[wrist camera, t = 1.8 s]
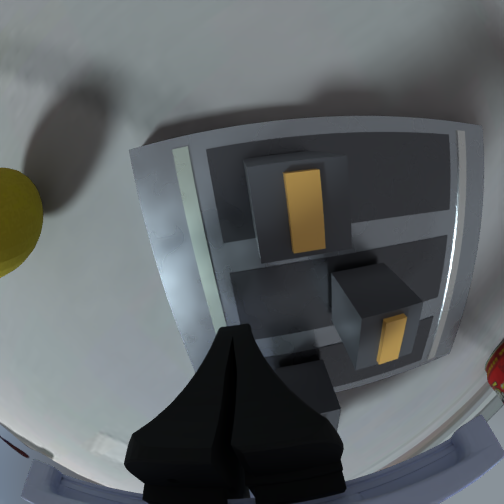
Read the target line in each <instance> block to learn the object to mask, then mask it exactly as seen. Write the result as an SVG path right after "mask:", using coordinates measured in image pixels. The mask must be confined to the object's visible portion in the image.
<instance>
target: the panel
mask: <svg viewBox="0 0 504 504" xmlns="http://www.w3.org/2000/svg"><path fill="white" fill-rule="evenodd" d="M304 151H318V152H325V153H332V154H339V155H345V156H347V161H348V172H349V186H350V203H351V229H352V249H347V250H341V251H336V252H330V253H324V254H318V255H312V256H306V257H300V258H294V259H288V260H282V261H276V262H270V263H263V264H261V260H260V255H259V250H258V246H257V241H256V236H255V231H254V227H253V220H252V214H251V208H250V201H249V195H248V188H247V182H246V176H245V169H244V163H243V159H248V158H255V157H262V156H269V155H277V154H285V153H294V152H304ZM129 153H130V158H131V164H132V168H133V173H134V178H135V183H136V187H137V192H138V196H139V200H140V204H141V209H142V213H143V217H144V221H145V224H146V228H147V232H148V236H149V239H150V243H151V246H152V250H153V253H154V257H155V260H156V264H157V267H158V270H159V273H160V277H161V280H162V283H163V286H164V289H165V292H166V295H167V298H168V301H169V304H170V307H171V310H172V313H173V316H174V318H175V321H176V324H177V327H178V329H179V332H180V335H181V337H182V340H183V343H184V345H185V348H186V350H187V353H188V356H189V358H190V361H191V363H192V365H193V368H194V370H195V373H196V371H197V370H198V368H199V367H200V365H201V364H202V362H203V360H204V358H205V357H206V355H207V353H208V351H209V349H210V347H211V345H212V343H213V341H214V339H215V336H216V334H217V332H218V329H219V328H220V327H226V326H233V325H240V324H247V323H248V324H250V325H251V329H252V334H253V337H254V339H255V341H256V343H257V345H258V347H259V349H260V351H261V352H262V354H263V356H264V358H265V359H266V361H267V362H268V364H269V365H270V366H271V368H272V369H273V370H274V372H275V368H280V367H286V366H292V365H297V364H302V363H307V362H312V361H317V360H322V359H323V361H324V364H325V366H326V369H327V372H328V375H329V377H330V380H331V383H332V386H333V388H334V391H335V393H336V392H340V391H344V390H347V389H351V388H355V387H358V386H362V385H365V384H369V383H372V382H375V381H378V380H381V379H385V378H388V377H391V376H394V375H396V374H399V373H402V372H405V371H408V370H410V369H413V368H416V367H418V366H421V365H423V364H426V363H428V362H431V361H433V360H435V359H438V358H440V357H442V356H445V355H447V354H449V353H450V351H451V348H452V345H453V342H454V340H455V337H456V334H457V331H458V328H459V325H460V321H461V318H462V315H463V311H464V308H465V304H466V300H467V297H468V293H469V289H470V284H471V280H472V275H473V271H474V265H475V260H476V255H477V248H478V242H479V235H480V227H481V217H482V206H483V189H484V147H483V131H482V126H480V125H474V124H468V123H461V122H454V121H446V120H437V119H427V118H414V117H396V116H331V117H312V118H299V119H287V120H277V121H269V122H260V123H253V124H246V125H239V126H233V127H227V128H221V129H215V130H210V131H205V132H200V133H195V134H190V135H185V136H181V137H177V138H172V139H168V140H164V141H160V142H156V143H152V144H148V145H145V146H141V147H138V148H134V149H131V150H129ZM379 263H384V264H385V265H386V266H387V267H389V268H390V269H391V270H392V271H393V272H394V273H395V274H396V275H397V276H398V277H399V278H400V279H401V280H402V281H403V282H404V283H405V284H406V285H407V286H408V287H409V288H410V289H411V290H412V291H413V292H414V293H415V294H416V295H417V296H418V297H419V298H420V299H421V300H422V301H423V307H422V312H421V316H420V321H419V325H418V330H417V334H416V338H415V341H414V345H413V349H412V352H411V353H410V354H407V355H404V356H401V357H398V359H395V360H392V361H389V362H386V363H383V364H376V365H373V366H369V367H366V368H362V369H359V370H355V368H354V366H353V363H352V361H351V359H350V357H349V355H348V353H347V351H346V349H345V347H344V344H343V342H342V340H341V338H340V336H339V334H338V332H337V330H336V328H335V326H334V324H333V322H332V278H331V273H333V272H338V271H343V270H349V269H354V268H359V267H364V266H369V265H374V264H379ZM275 373H276V372H275Z"/></svg>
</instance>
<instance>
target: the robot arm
mask: <svg viewBox="0 0 504 504" xmlns="http://www.w3.org/2000/svg"><path fill="white" fill-rule="evenodd" d="M343 449H344V448H343V443H342V440H341V438H340V436H339V434H338V433H337V431H336V430H335V428H334V427H333V425H332V424H331V423H330V421H329V420H328V419H327V418H326V417H324V416H322V415H321V414H319V413H318V412H317V411H315V410H314V409H312V408H311V407H310V406H309V405H307V404H306V403H305V402H303V401H302V400H301V399H300V398H299V397H298V396H297V395H296V394H295V393H294V392H292V391H291V390H290V389H289V388H288V387H287V386H286V385H285V383H284V382H283V381H282V380H281V379H280V378H279V377H278V375H277V374H276V373H275V372H274V370H273V369H272V368H271V366H270V365H269V364H268V362H267V361H266V359H265V358H264V356H263V354H262V352H261V351H260V349H259V347H258V345H257V343H256V341H255V339H254V337H253V334H252V329H251V325H250V324H248V323H247V324H240V325H233V326H226V327H220V328H219V329H218V332H217V334H216V336H215V339H214V341H213V343H212V345H211V347H210V349H209V351H208V353H207V355H206V357H205V358H204V360H203V362H202V364H201V365H200V367H199V368H198V370H197V371H196V373H195V375H194V376H193V378H192V379H191V380H190V382H189V383H188V384H187V386H186V387H185V388H184V389H183V391H182V392H181V393H180V394H179V395H178V396H177V397H176V399H175V400H174V401H173V402H172V403H171V404H170V405H169V406H168V407H167V408H166V409H165V410H163V411H162V412H161V413H160V414H159V415H158V416H157V417H156V418H154V419H153V420H152V421H150V422H149V423H148V424H146V425H145V426H143V427H142V428H141V429H139V430H138V431H136V432H135V433H133V434H132V436H131V439H130V441H129V444H128V448H127V452H126V457H125V461H124V465H125V467H126V469H127V470H128V471H129V472H130V473H131V474H133V475H134V476H135V477H137V478H138V479H139V480H141V481H142V482H143V483H145V484H144V491H143V494H140V493H134V492H128V491H123V490H118V489H114V488H109V487H105V486H100V485H97V484H93V483H90V482H86V481H82V480H79V479H76V478H73V477H70V476H66V475H64V474H62V473H61V472H60V471H59V470H57V469H56V468H55V467H53V466H51V465H49V464H47V463H44V462H41V461H39V460H37V459H33V462H32V464H31V467H30V470H29V473H28V476H27V479H26V482H25V485H24V488H23V491H22V494H21V497H22V498H23V499H25V500H26V501H28V502H30V503H31V504H439V503H441V502H443V501H445V500H446V499H448V498H450V497H451V496H453V495H455V494H456V493H458V492H460V491H461V490H463V489H464V488H466V487H467V486H469V485H470V484H472V483H473V482H475V481H476V480H477V479H479V478H480V477H481V476H482V475H484V474H485V473H486V472H488V471H489V470H490V469H491V468H492V467H494V466H495V465H496V464H497V463H498V462H499V461H501V460H502V459H503V458H504V450H503V449H502V447H501V445H500V443H499V442H498V440H497V438H496V437H495V435H494V433H493V432H492V430H491V428H490V427H489V425H488V423H487V422H486V420H485V419H484V417H483V416H482V415H479V416H477V417H476V418H474V419H472V420H471V421H469V422H468V423H466V424H464V425H463V426H461V427H460V428H459V429H457V430H456V431H455V432H454V434H453V435H452V437H451V439H449V440H447V441H445V442H443V443H441V444H440V445H438V446H436V447H434V448H432V449H430V450H428V451H426V452H424V453H421V454H419V455H417V456H415V457H413V458H410V459H408V460H406V461H403V462H401V463H399V464H396V465H394V466H391V467H388V468H386V469H383V470H380V471H378V472H375V473H372V474H369V475H366V476H363V477H359V478H356V479H353V480H349V481H346V482H345V480H344V476H343V473H342V470H343V467H342V463H341V456H342V453H343Z"/></svg>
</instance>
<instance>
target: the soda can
mask: <svg viewBox="0 0 504 504" xmlns="http://www.w3.org/2000/svg"><path fill="white" fill-rule="evenodd" d="M485 371H486V372H487V380H488V383H489V384H490V386H491V387H492V388H493V389H494V391H495V392H496V394H497V395H498V396H499V398H500V399H501V400H502V402H503V403H504V341H502V342H501V344H500V345H499V346H498V347H497V348H496V349H495V351H494V352H493V353H492V355H491V356H490V358H489V359H488V362H487V364H486V366H485Z"/></svg>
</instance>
